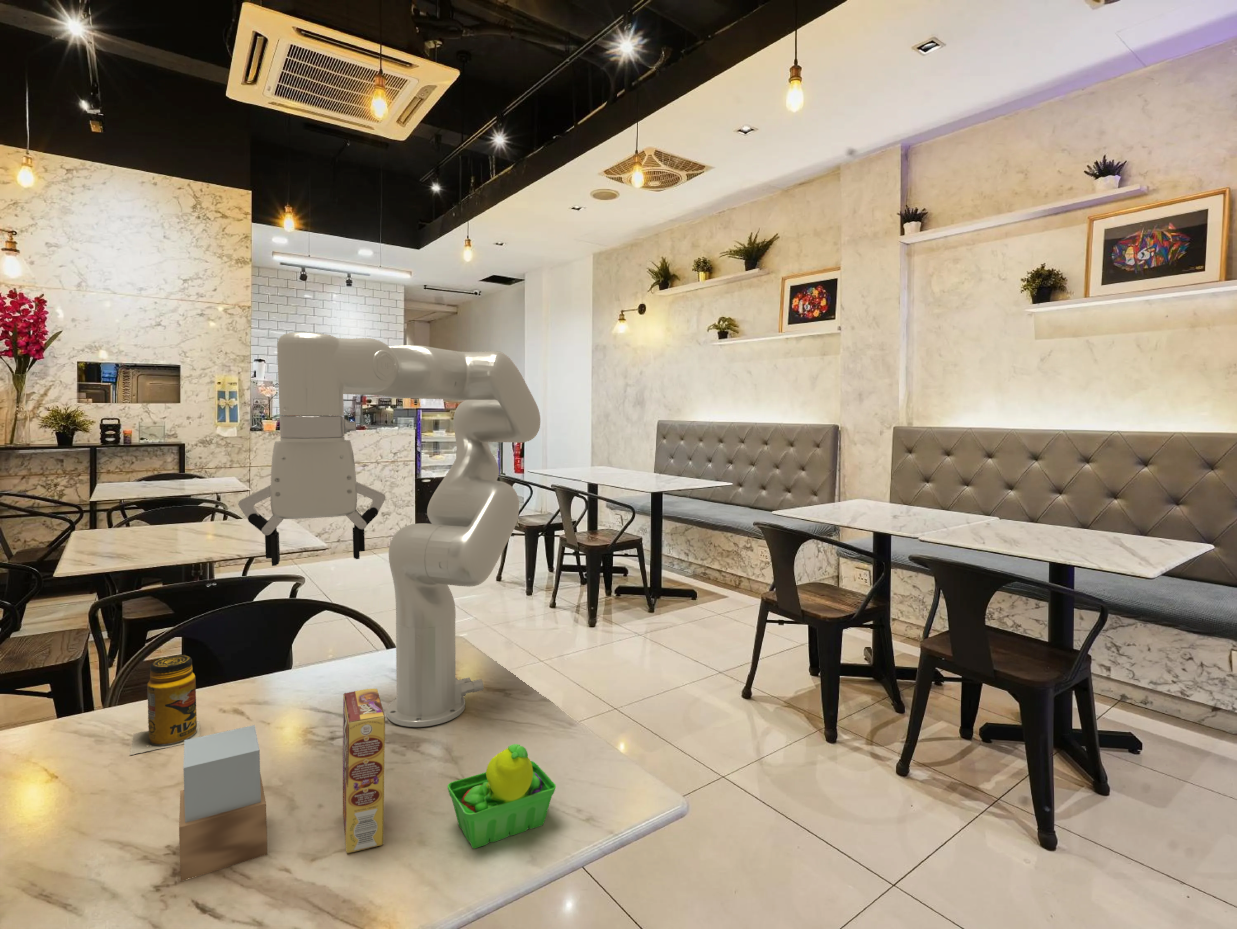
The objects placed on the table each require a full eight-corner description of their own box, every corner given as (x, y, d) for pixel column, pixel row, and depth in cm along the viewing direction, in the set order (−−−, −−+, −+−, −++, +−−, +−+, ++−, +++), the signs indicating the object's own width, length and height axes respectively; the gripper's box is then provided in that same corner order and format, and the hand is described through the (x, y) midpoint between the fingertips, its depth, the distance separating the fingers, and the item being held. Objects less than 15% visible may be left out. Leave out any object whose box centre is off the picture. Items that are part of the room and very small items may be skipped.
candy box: (387, 845, 73) (385, 715, 72) (346, 856, 71) (344, 722, 71) (379, 803, 81) (378, 686, 80) (342, 812, 79) (340, 692, 79)
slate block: (255, 773, 77) (254, 724, 77) (260, 802, 71) (259, 750, 71) (185, 791, 73) (184, 740, 73) (185, 823, 68) (183, 768, 67)
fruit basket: (531, 796, 84) (532, 711, 83) (563, 832, 76) (563, 740, 75) (445, 824, 77) (445, 733, 77) (470, 867, 70) (470, 767, 69)
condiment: (199, 741, 97) (197, 663, 96) (129, 756, 92) (126, 675, 91) (199, 722, 103) (197, 648, 102) (133, 735, 98) (130, 659, 97)
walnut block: (260, 818, 78) (259, 770, 78) (267, 855, 72) (266, 803, 71) (181, 841, 74) (180, 790, 73) (180, 882, 67) (179, 827, 67)
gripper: (381, 429, 90) (384, 549, 91) (239, 429, 83) (245, 560, 84) (385, 430, 83) (388, 560, 84) (231, 431, 76) (237, 573, 77)
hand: (317, 560), depth 84 cm, fingers open, 9 cm apart
